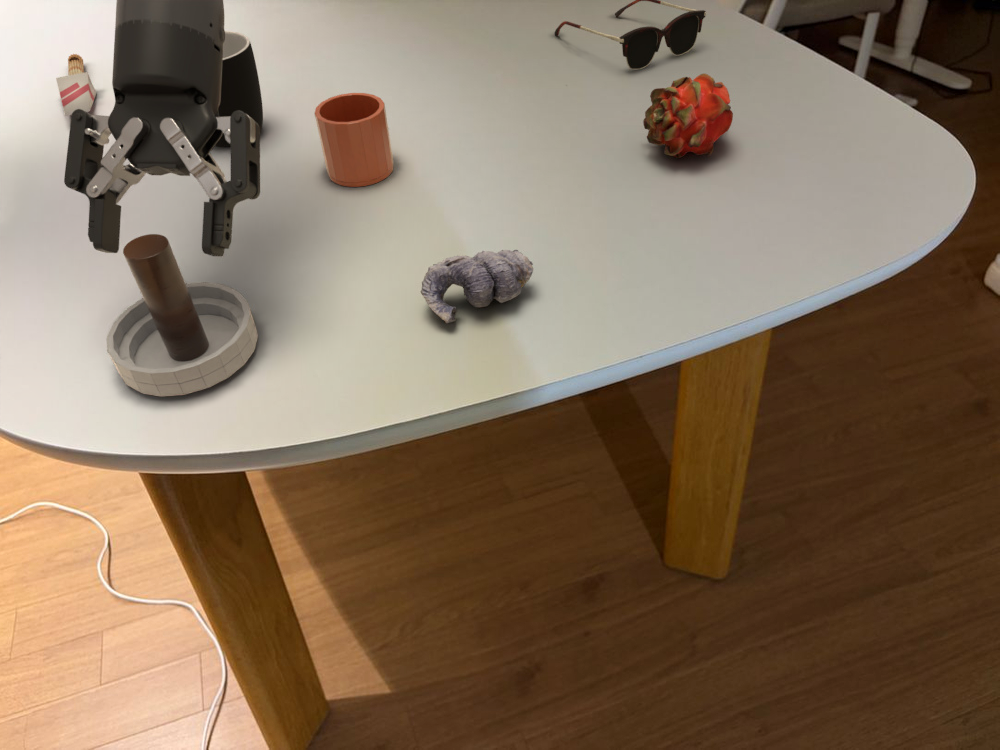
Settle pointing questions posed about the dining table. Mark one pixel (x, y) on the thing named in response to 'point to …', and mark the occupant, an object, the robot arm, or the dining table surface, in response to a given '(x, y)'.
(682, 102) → the dragon fruit
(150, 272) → the muddler
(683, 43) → the sunglasses
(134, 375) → the dish
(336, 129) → the cup
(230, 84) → the mug
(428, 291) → the seashell
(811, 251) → the dining table surface
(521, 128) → the dining table surface
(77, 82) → the churro
